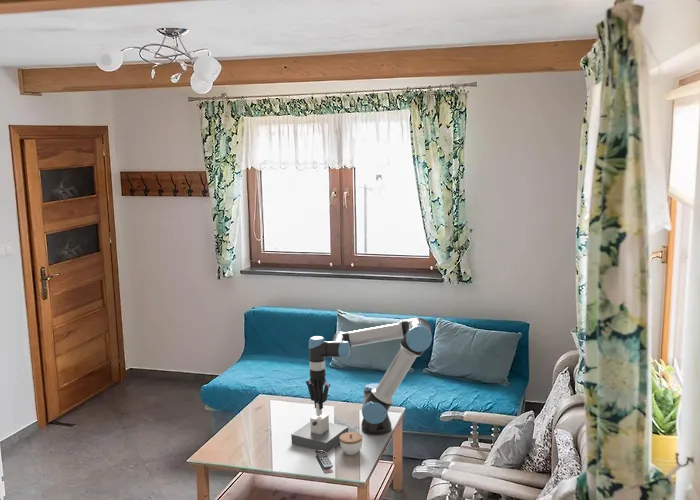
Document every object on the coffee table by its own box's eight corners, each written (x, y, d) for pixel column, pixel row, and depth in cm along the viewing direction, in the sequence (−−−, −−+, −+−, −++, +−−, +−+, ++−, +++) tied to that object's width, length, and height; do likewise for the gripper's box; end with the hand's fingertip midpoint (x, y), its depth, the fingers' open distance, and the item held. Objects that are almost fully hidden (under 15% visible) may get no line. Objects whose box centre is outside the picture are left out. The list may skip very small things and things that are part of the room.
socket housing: (348, 436, 343) (348, 426, 342) (326, 452, 326) (326, 442, 325) (314, 428, 353) (314, 419, 352) (291, 444, 336) (291, 434, 335)
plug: (329, 435, 340) (328, 415, 339) (319, 442, 333) (318, 421, 331) (319, 432, 343) (318, 412, 342) (309, 439, 336) (308, 419, 334)
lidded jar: (355, 459, 318) (354, 440, 317) (335, 454, 324) (334, 435, 322) (366, 450, 327) (366, 431, 326) (347, 445, 333) (347, 426, 331)
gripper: (333, 368, 333) (334, 414, 337) (310, 364, 339) (312, 409, 343) (324, 373, 326) (326, 420, 330) (301, 368, 333) (303, 415, 337)
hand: (319, 414), depth 337 cm, fingers closed
